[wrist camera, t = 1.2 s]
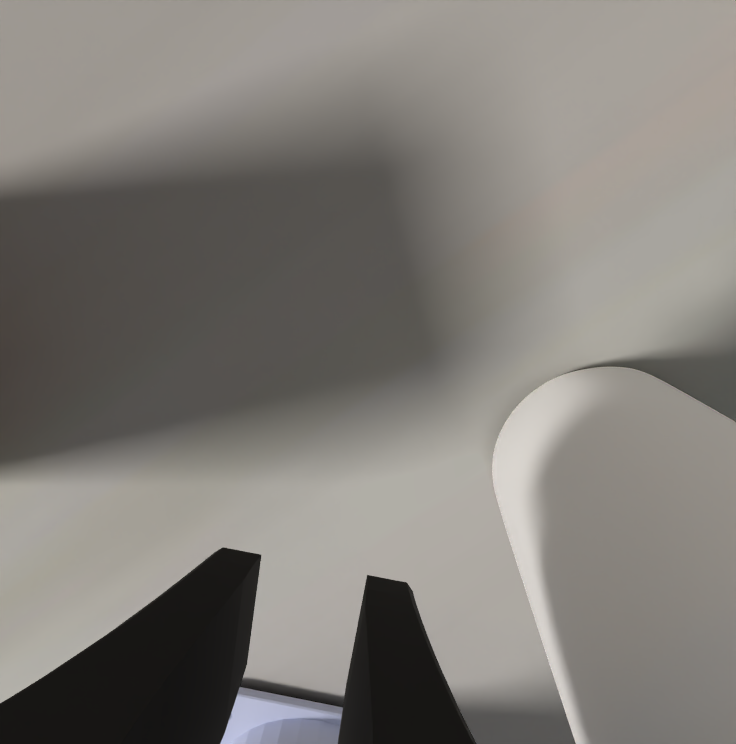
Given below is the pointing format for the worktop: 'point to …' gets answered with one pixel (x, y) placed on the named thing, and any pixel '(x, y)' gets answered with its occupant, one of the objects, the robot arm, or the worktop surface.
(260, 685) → the worktop surface
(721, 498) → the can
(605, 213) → the worktop surface
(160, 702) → the robot arm
